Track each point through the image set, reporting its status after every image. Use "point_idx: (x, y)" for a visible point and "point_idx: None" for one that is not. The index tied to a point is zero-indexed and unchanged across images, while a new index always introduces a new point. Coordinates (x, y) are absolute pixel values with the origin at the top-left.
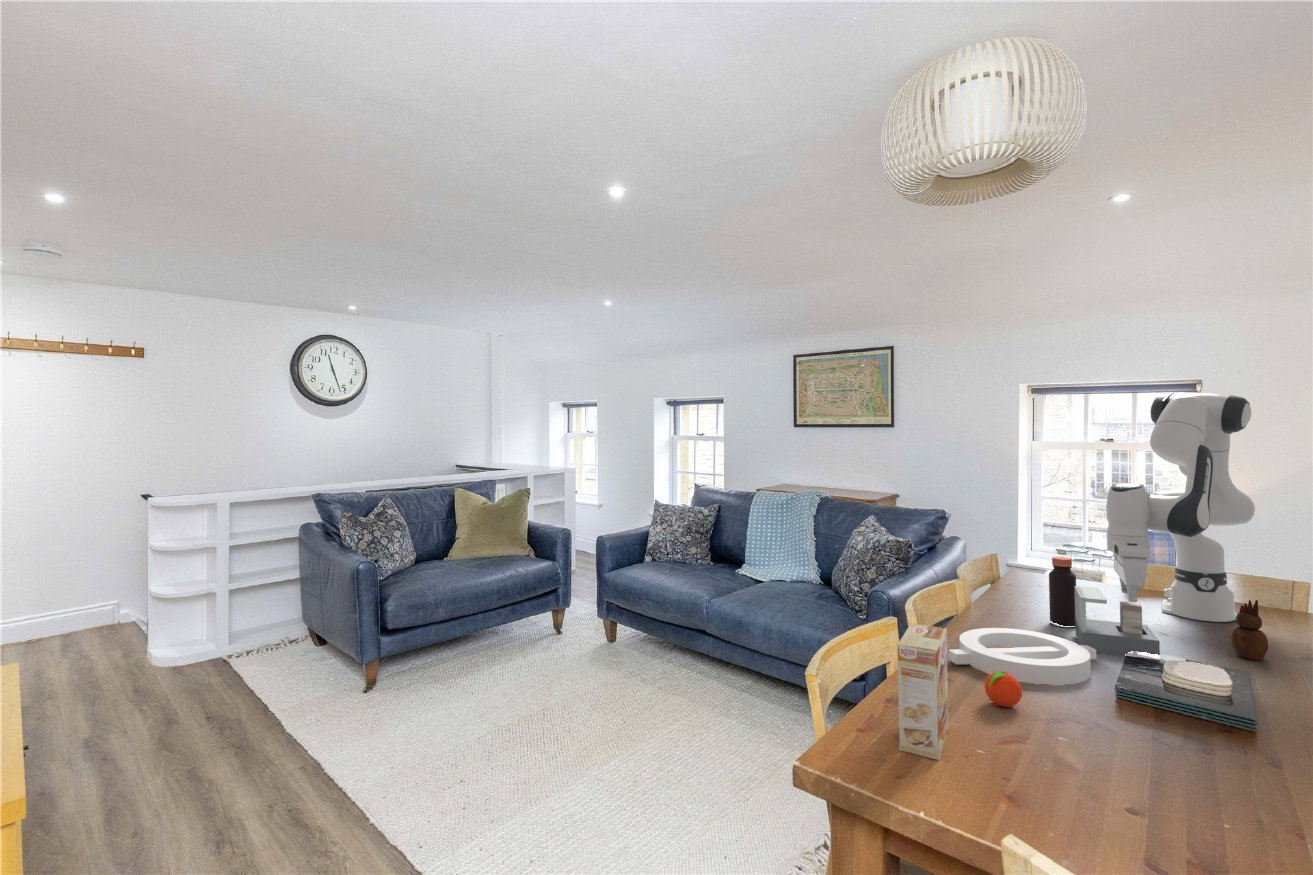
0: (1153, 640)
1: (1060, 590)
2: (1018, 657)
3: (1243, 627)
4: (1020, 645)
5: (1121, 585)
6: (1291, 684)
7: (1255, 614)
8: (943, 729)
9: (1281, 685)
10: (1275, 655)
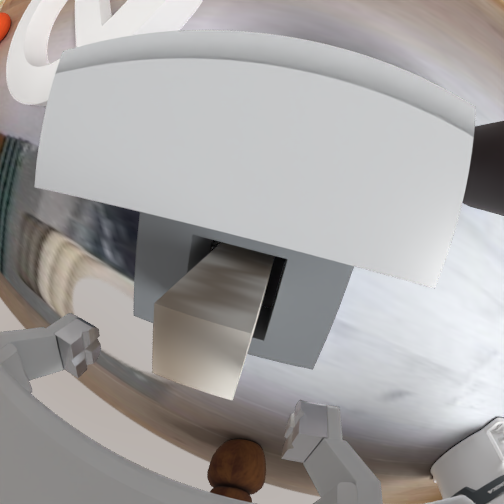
0: (134, 301)
1: None
2: (35, 8)
3: (232, 487)
4: None
5: (323, 439)
6: (124, 409)
7: None
8: None
9: (113, 396)
10: (267, 470)
